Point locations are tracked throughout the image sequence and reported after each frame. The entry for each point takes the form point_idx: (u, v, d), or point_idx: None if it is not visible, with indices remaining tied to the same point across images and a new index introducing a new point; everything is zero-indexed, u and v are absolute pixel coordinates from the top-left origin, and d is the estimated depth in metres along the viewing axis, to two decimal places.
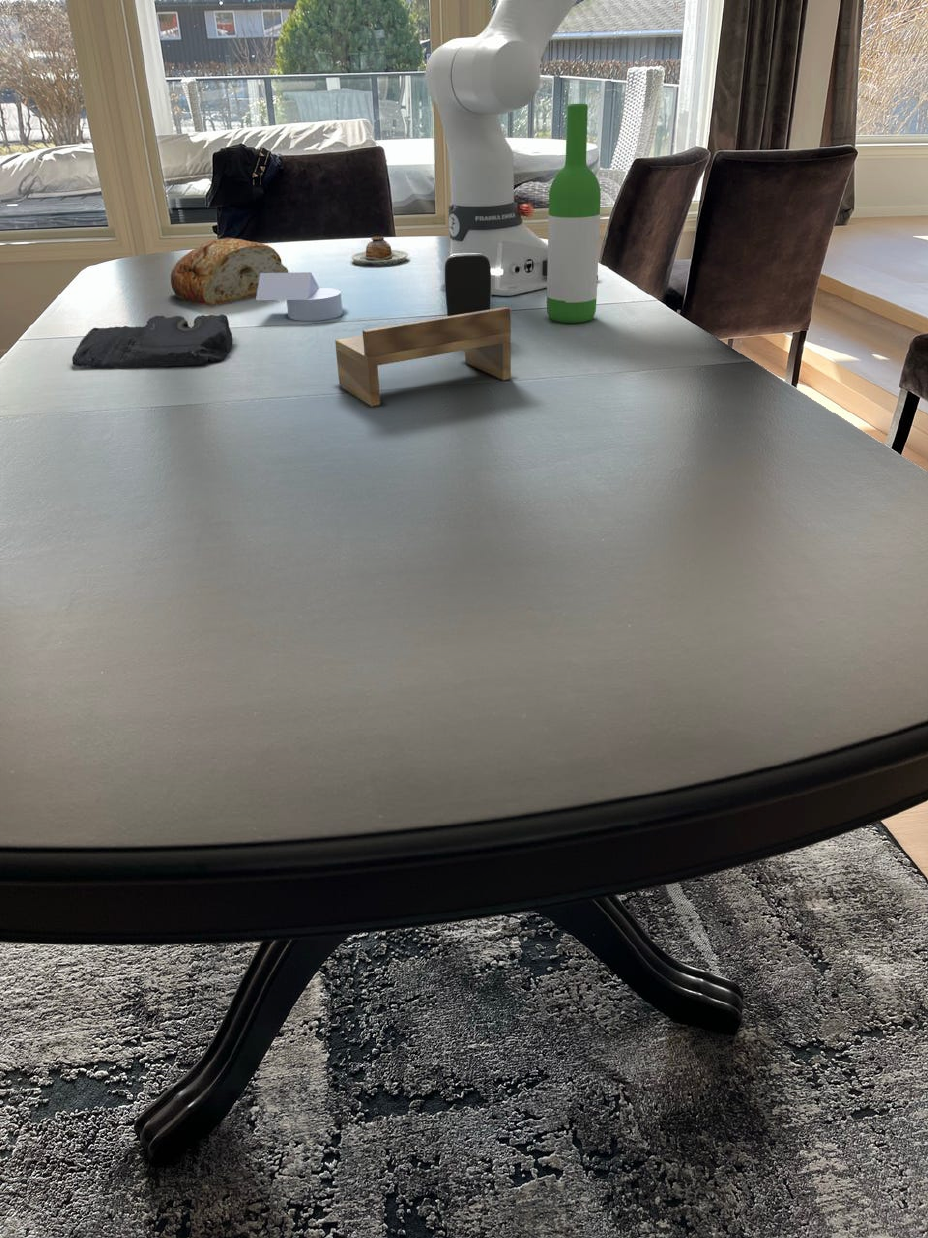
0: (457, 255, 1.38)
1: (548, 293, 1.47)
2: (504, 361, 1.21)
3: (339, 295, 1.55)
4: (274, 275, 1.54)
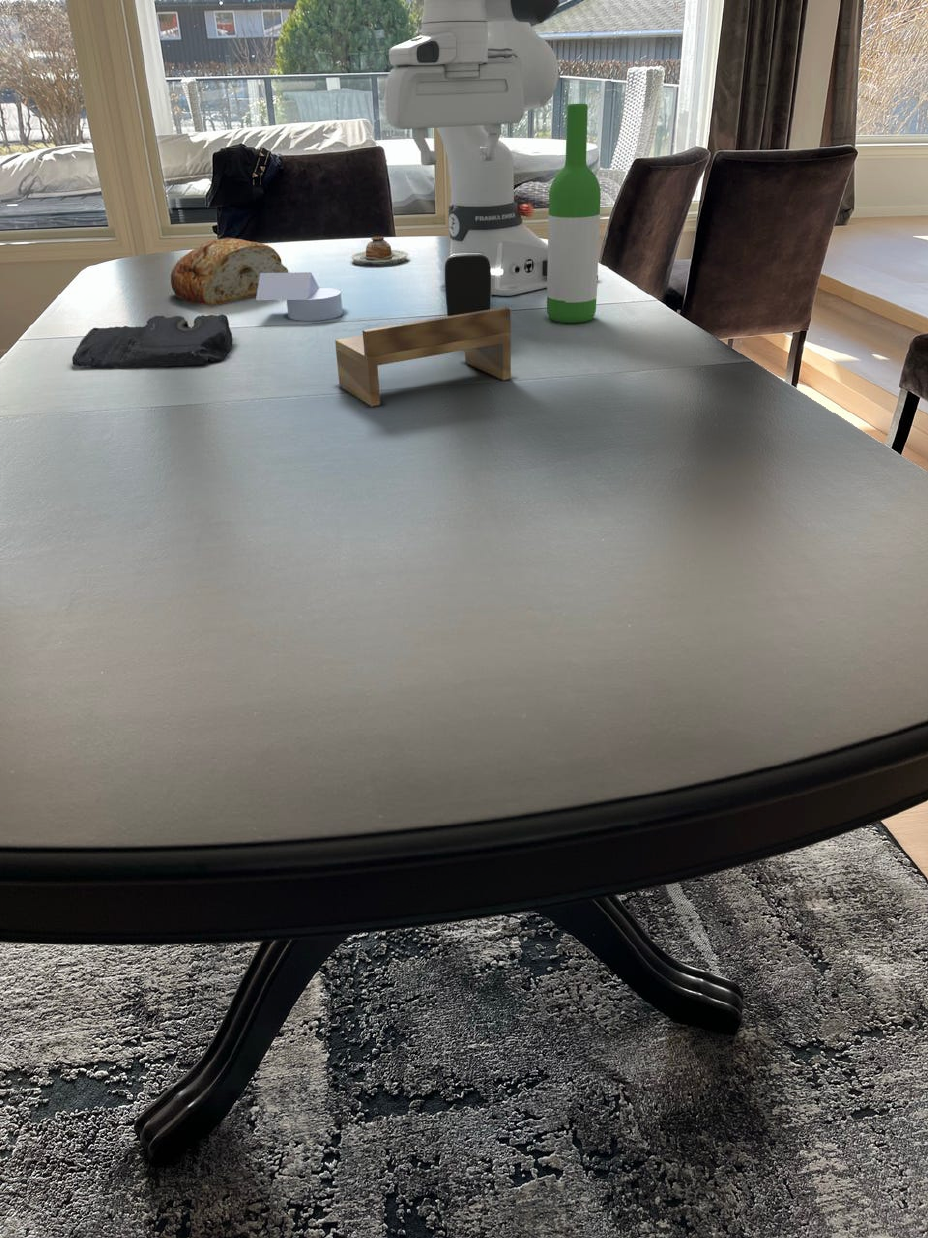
0: (457, 255, 1.38)
1: (548, 293, 1.47)
2: (504, 361, 1.21)
3: (339, 295, 1.55)
4: (274, 275, 1.54)
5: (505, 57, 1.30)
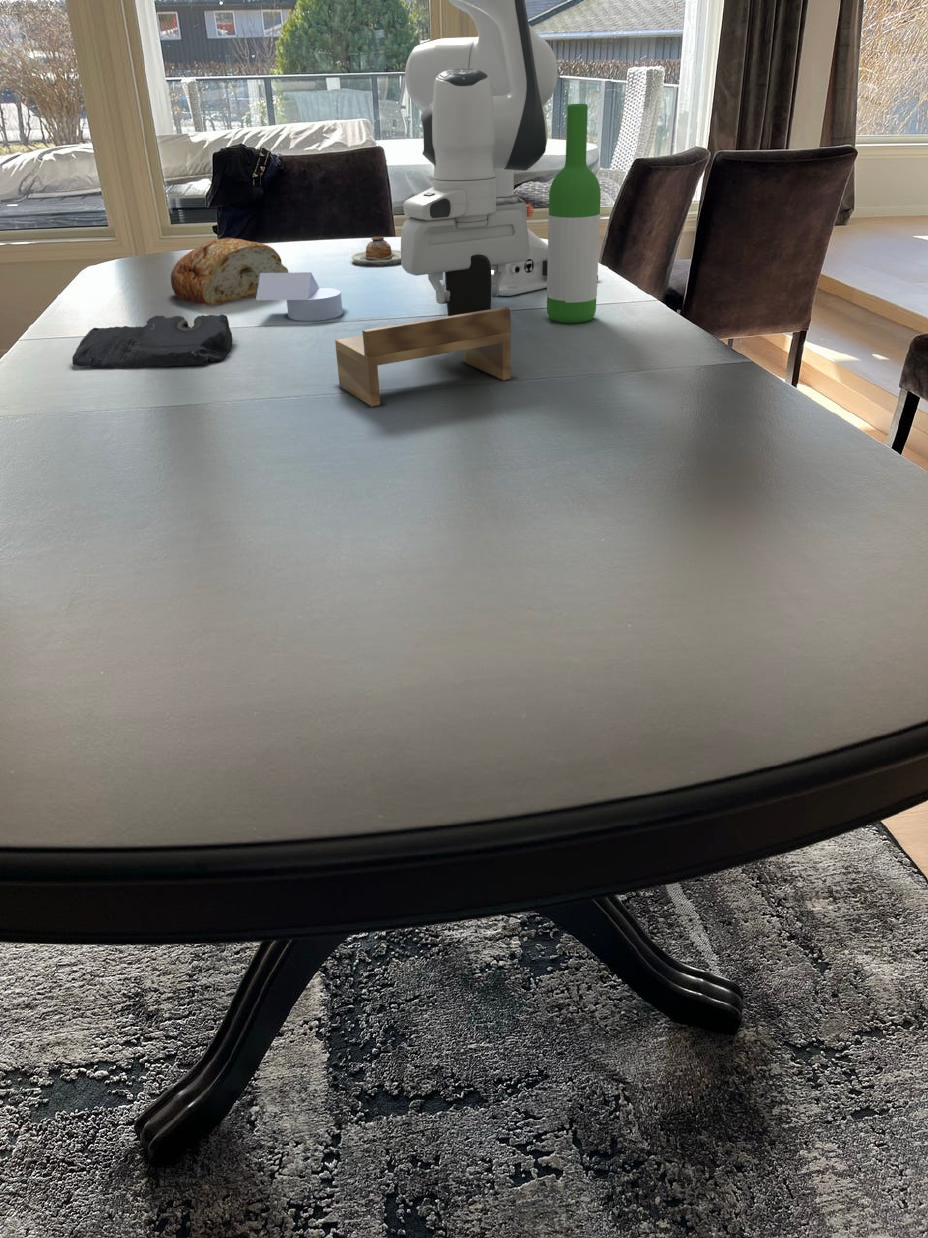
0: None
1: (548, 293, 1.47)
2: (504, 361, 1.21)
3: (339, 295, 1.55)
4: (274, 275, 1.54)
5: (511, 203, 1.39)
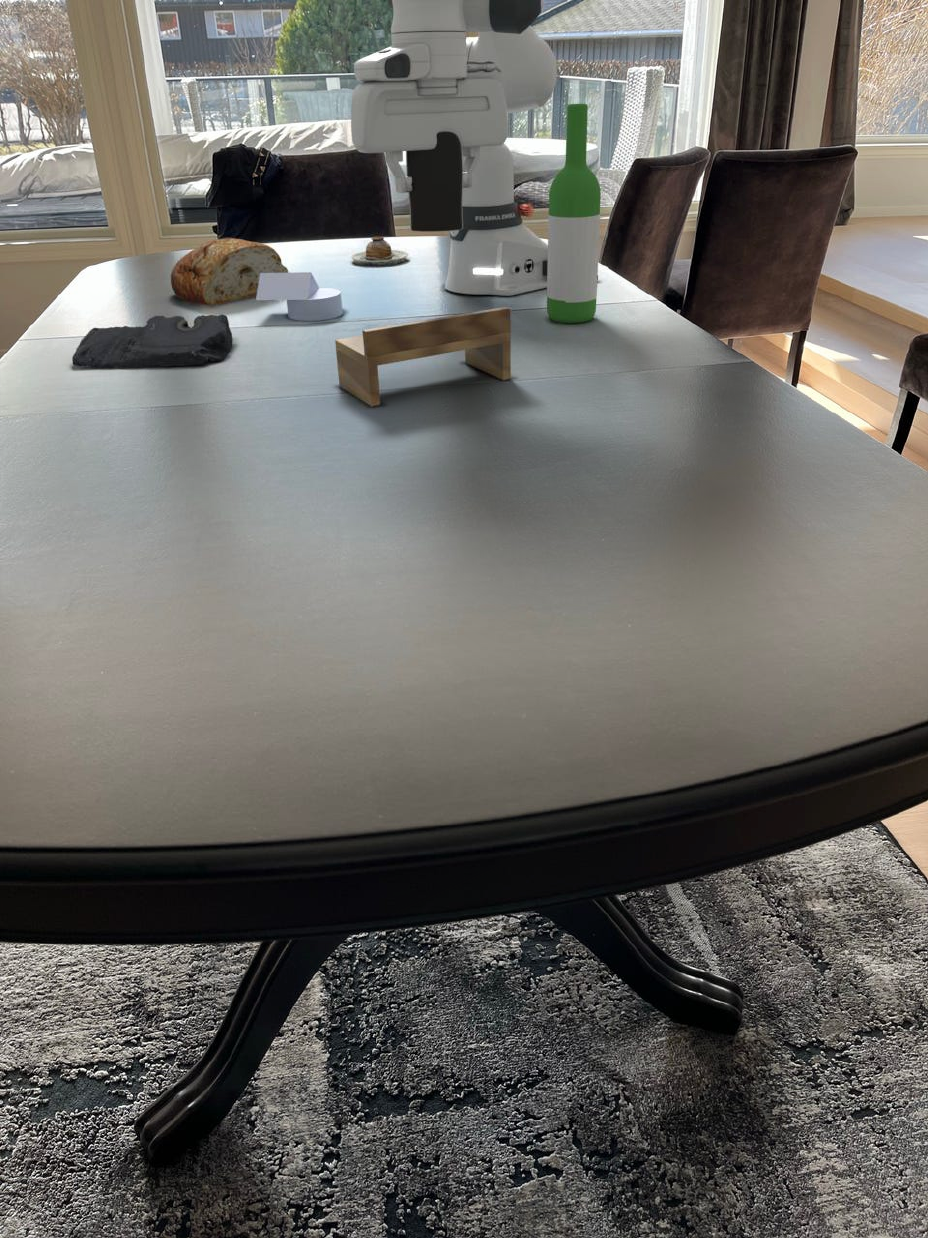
0: None
1: (548, 293, 1.47)
2: (504, 361, 1.21)
3: (339, 295, 1.55)
4: (274, 275, 1.54)
5: (486, 71, 1.15)
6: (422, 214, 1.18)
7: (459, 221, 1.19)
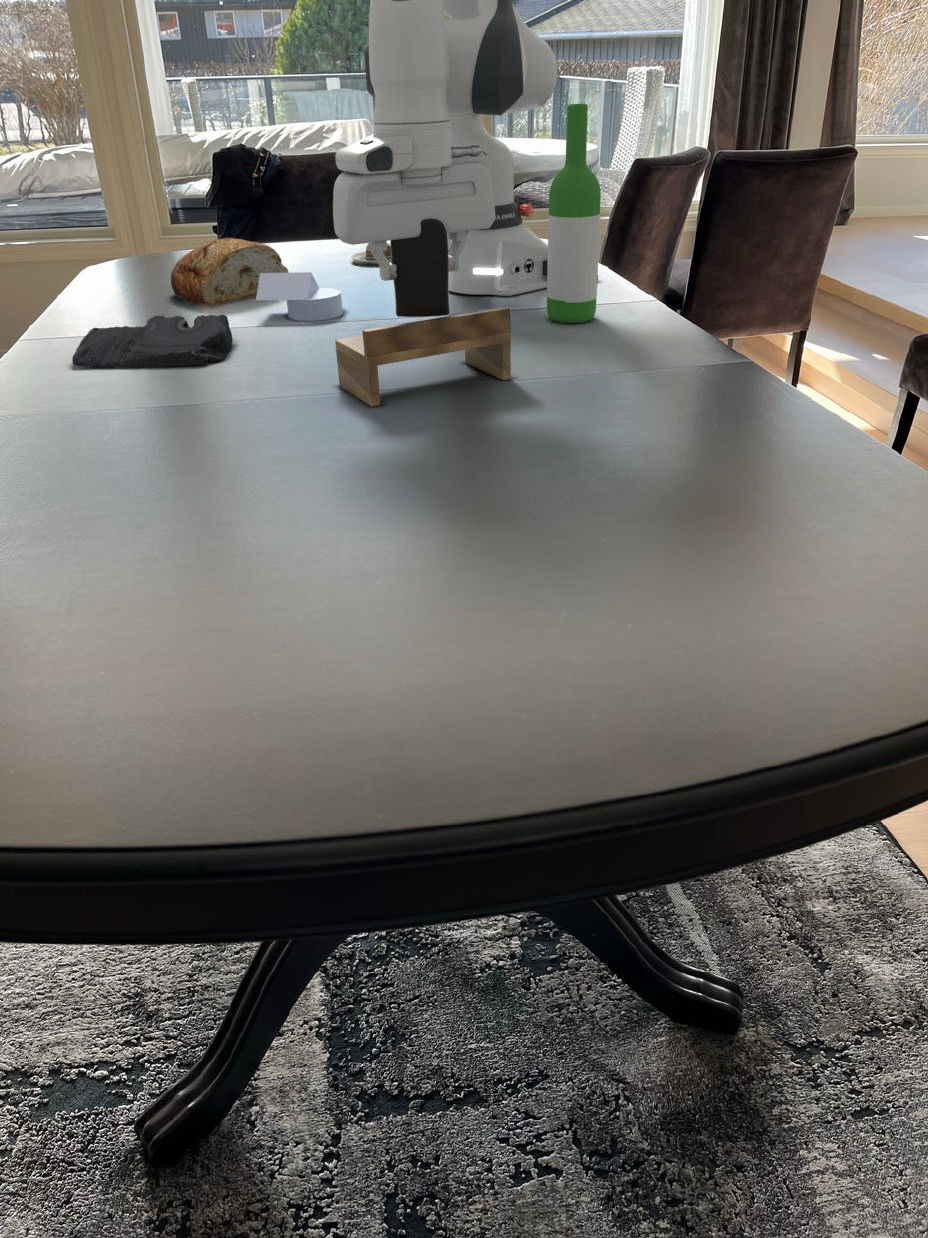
0: None
1: (548, 293, 1.47)
2: (504, 361, 1.21)
3: (339, 295, 1.55)
4: (274, 275, 1.54)
5: (472, 156, 1.12)
6: (407, 300, 1.16)
7: (446, 307, 1.16)
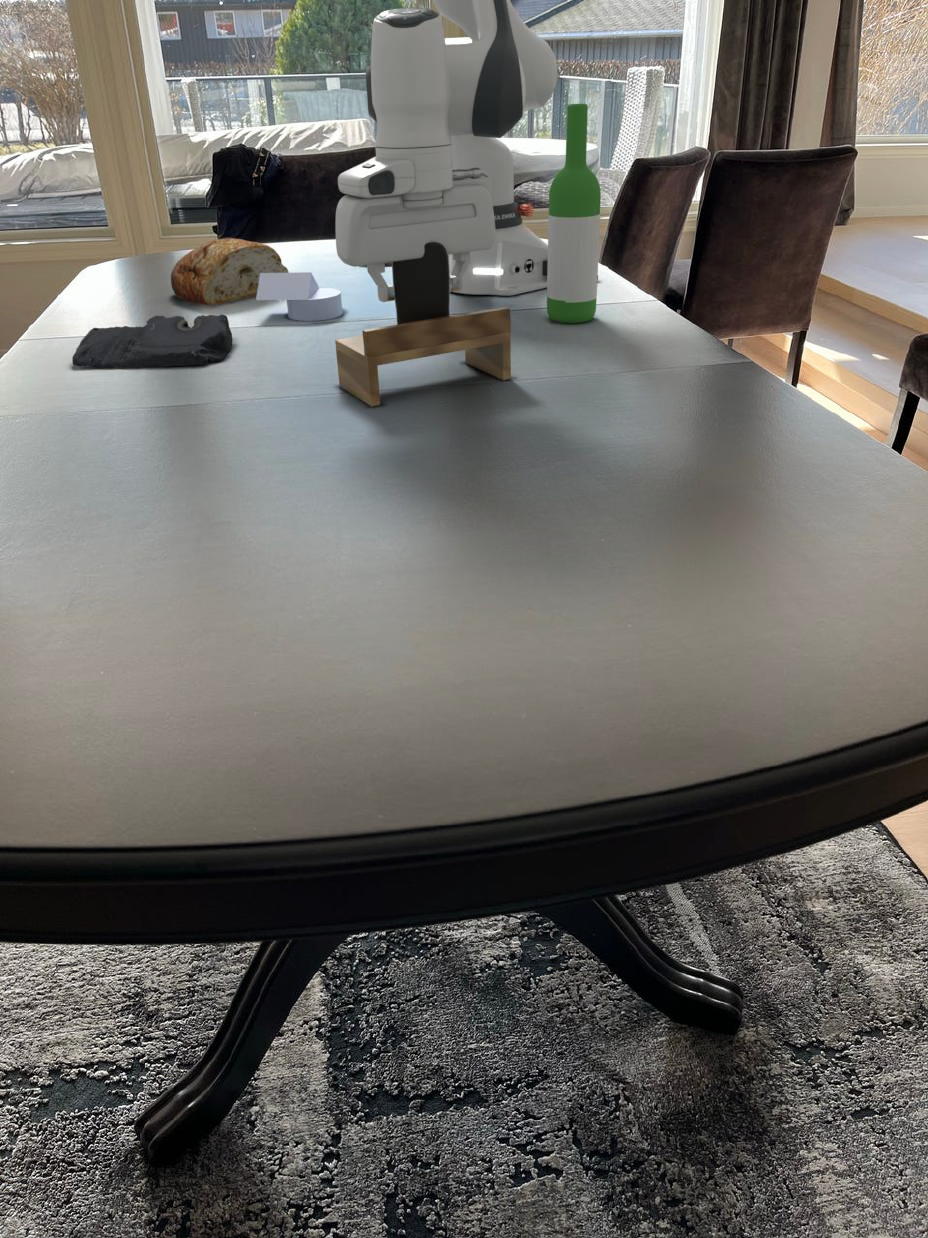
0: None
1: (548, 293, 1.47)
2: (504, 361, 1.21)
3: (339, 295, 1.55)
4: (274, 275, 1.54)
5: (473, 178, 1.13)
6: (409, 322, 1.17)
7: None
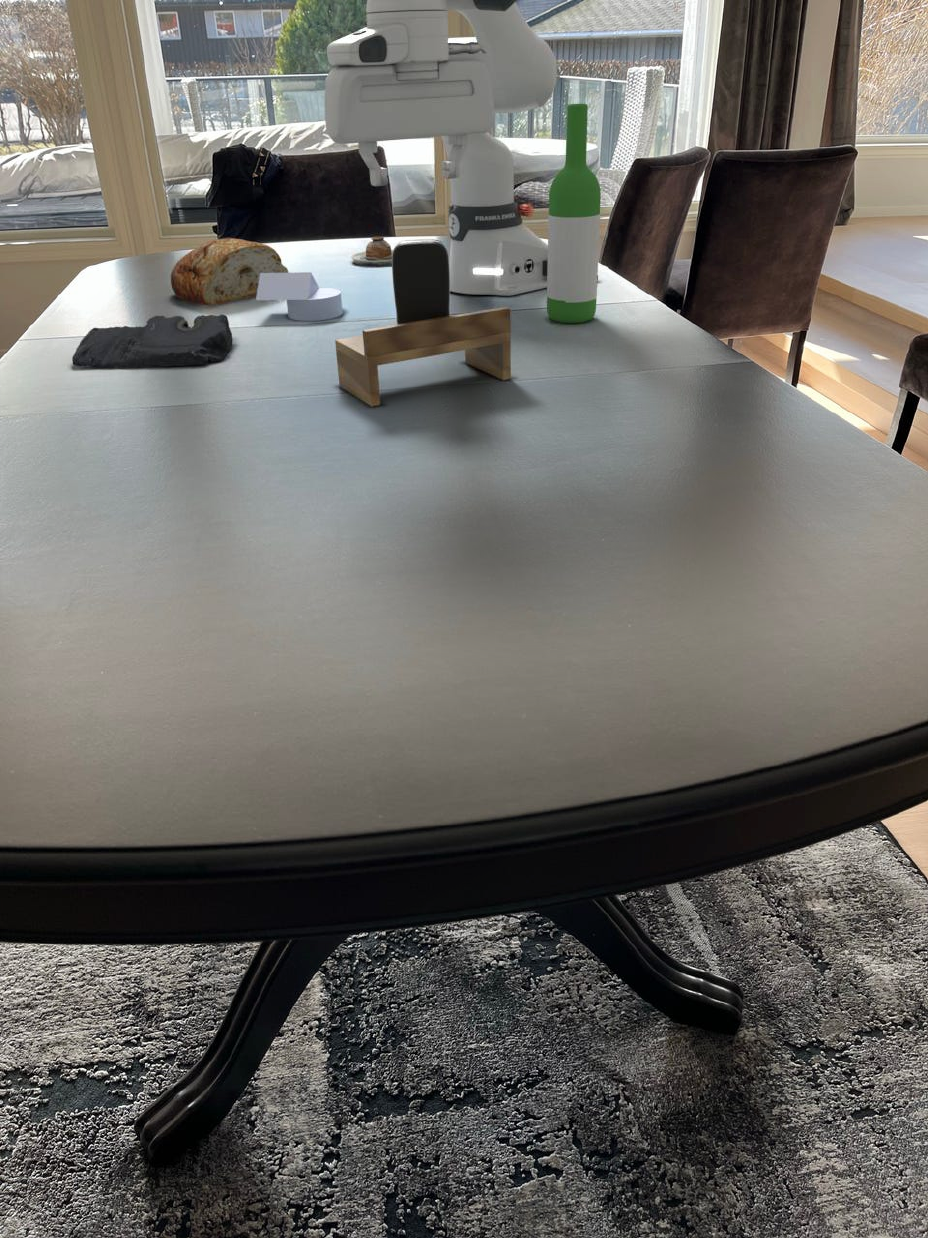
0: (407, 243, 1.13)
1: (548, 293, 1.47)
2: (504, 361, 1.21)
3: (339, 295, 1.55)
4: (274, 275, 1.54)
5: (470, 53, 1.07)
6: (409, 322, 1.17)
7: None
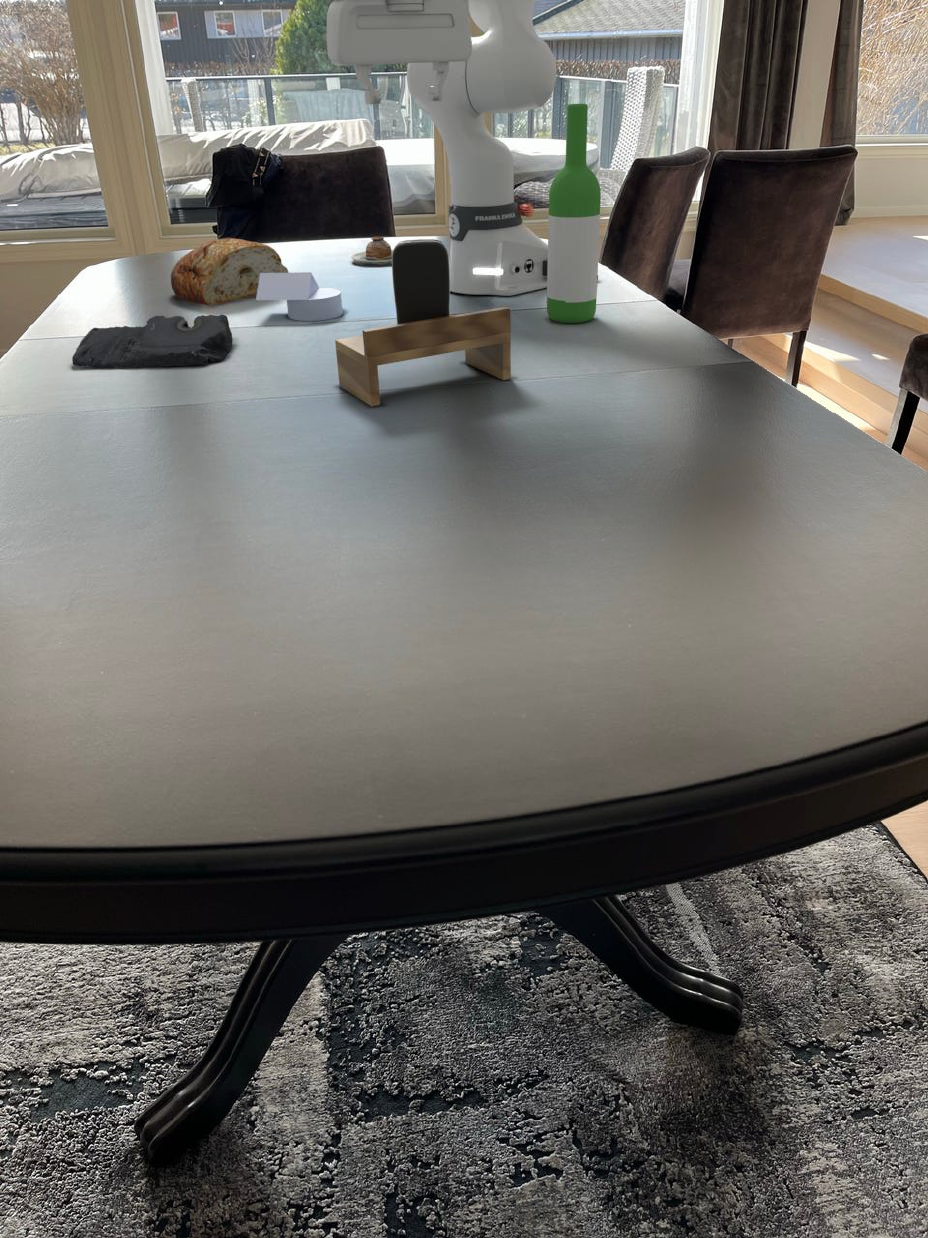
0: (407, 243, 1.13)
1: (548, 293, 1.47)
2: (504, 361, 1.21)
3: (339, 295, 1.55)
4: (274, 275, 1.54)
5: None
6: (409, 322, 1.17)
7: None
